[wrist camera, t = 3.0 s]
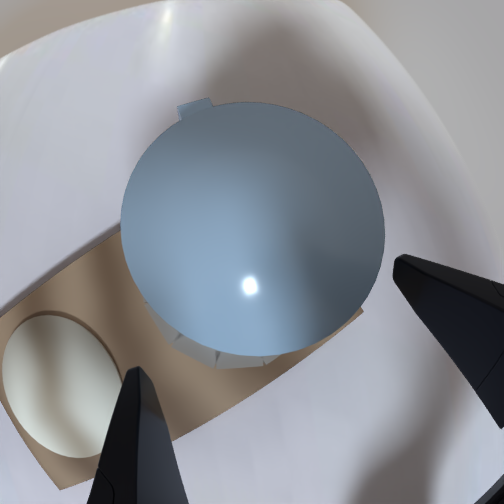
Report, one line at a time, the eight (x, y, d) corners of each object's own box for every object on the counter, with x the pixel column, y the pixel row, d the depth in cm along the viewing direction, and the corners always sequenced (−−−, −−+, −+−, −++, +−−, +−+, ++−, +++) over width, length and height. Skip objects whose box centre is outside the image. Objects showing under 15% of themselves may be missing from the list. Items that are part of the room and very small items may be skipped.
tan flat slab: (252, 160, 22) (257, 138, 19) (357, 312, 20) (378, 310, 17) (-19, 340, 16) (-43, 340, 13) (64, 485, 14) (49, 501, 12)
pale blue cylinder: (299, 308, 19) (419, 286, 7) (202, 348, 17) (178, 398, 6) (247, 185, 20) (284, 42, 8) (154, 218, 19) (90, 91, 7)
